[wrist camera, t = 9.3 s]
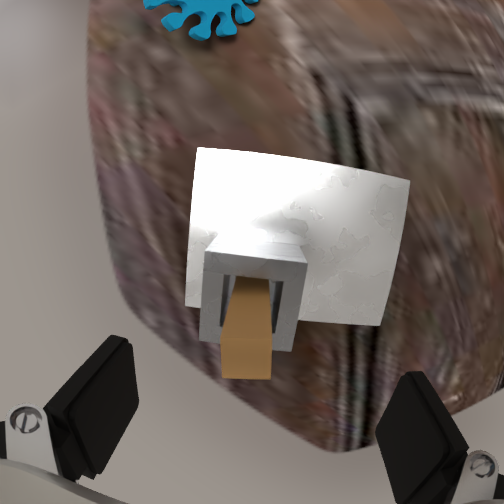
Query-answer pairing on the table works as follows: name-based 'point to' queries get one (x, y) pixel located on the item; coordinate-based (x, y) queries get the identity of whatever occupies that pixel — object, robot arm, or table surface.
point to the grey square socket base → (292, 239)
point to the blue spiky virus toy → (205, 15)
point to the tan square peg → (247, 331)
